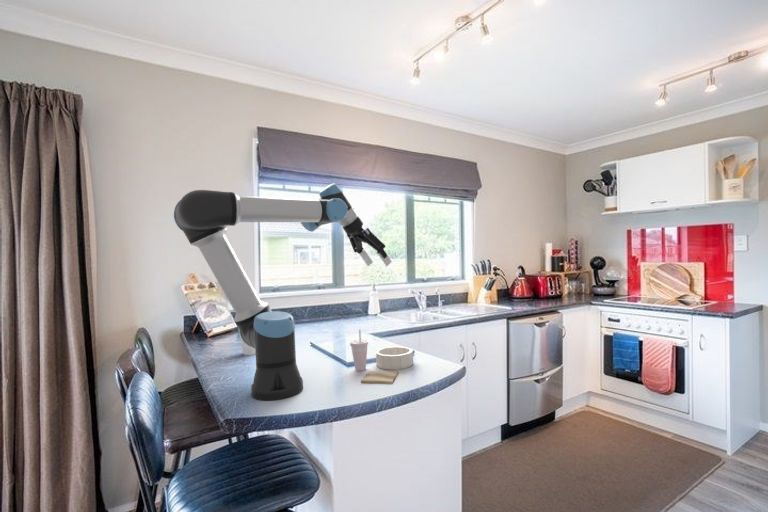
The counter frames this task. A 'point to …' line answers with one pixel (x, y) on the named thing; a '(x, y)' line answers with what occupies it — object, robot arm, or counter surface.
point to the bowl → (394, 358)
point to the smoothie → (359, 353)
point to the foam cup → (247, 347)
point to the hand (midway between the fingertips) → (379, 264)
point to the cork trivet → (380, 377)
